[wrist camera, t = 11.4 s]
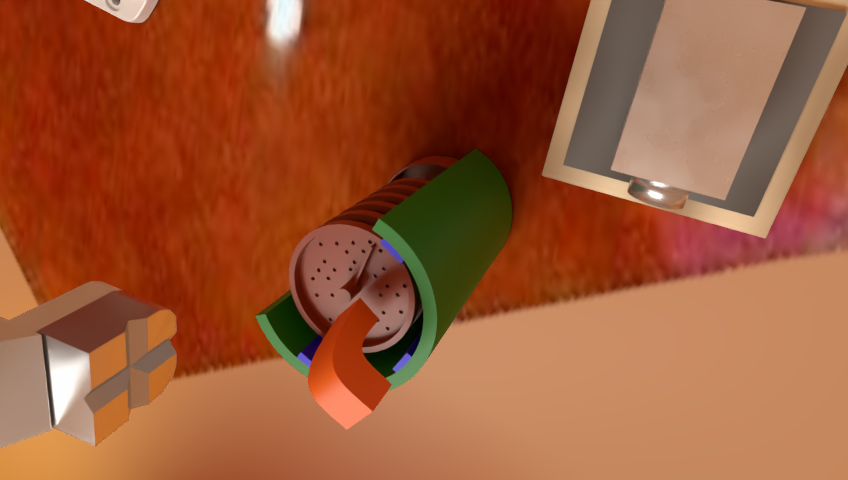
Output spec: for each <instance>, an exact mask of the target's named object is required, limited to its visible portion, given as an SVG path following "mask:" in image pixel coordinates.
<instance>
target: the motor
mask: <svg viewBox="0 0 848 480" xmlns="http://www.w3.org/2000/svg"><path fill="white" fill-rule="evenodd" d="M511 224H512V202H511V197H510V193H509V190H508V187H507V184H506V182H505V180H504V178H503V176H502V175H501V173H500V171H499V170H498V169H497V167H496V166H495V165H494V164H493V162H492V161H491V160H490V159H489V158H488V157H486V156H485V155H484V154H483V153H482V152H480V151H479V150H477V149H476V148H475V149H474V150H473V151H471V152H470V153H469V154H467V155H466V156H464V157H463V158H462V159H460V160H459V159H456V158H453V157H449V156H442V155H435V156H428V157H424V158H421V159H419V160H417V161H415V162H413V163H412V164H410V165H408V166H407V167H405V168H403V169H402V170H400V171H399V172H397V173H396V174H395V175H394V176H393V177H392V178H391V179H390V180H389V182H388V183H387V185H385V186H384V187H382V188H381V189H379V190H377V191H376V192H374V193H373V194H371V195H369V196H368V197H366V198H365V199H363V200H361V201H360V202H358V203H357V204H355V205H354V206H352V207H350V208H348V209H347V210H345V211H344V212H342V213H341V214H340V215H338V216H336V217H334V218H332V219H331V220H329V221H328V222H326V223H325V224H324V225H322V226H320V227H318V228H316V229H315V230H313V231H312V232H310V233H309V234H307V235H306V236H305V237H304V238H303V239H302V240H301V241H300V242H299V244H298V245H297V247H296V248H295V250H294V252H293V255H292V258H291V261H290V266H289V284H290V289H291V290H289V291H288V292H287V293H285V294H284V295H283V296H281V297H280V298H279V299H277V300H276V301H275V302H273V303H272V304H271V305H269V306H268V307H267V308H265V309H264V310H263V311H261V312H260V313H259V314H257V315H256V318H257V320H258V323H259V325H260V326H261V328H262V330H263V332H264V334H265V335H266V337H267V338H268V340H269V341H270V343H271V344H272V345H273V347H274V348H275V349H276V350H277V351H278V353H279V354H280V355H281V356H282V357H283V358H284V359H285V360H286V361H287V362H288V363H289V364H290V365H292V366H293V367H294V368H295V369H296V370H298V371H299V372H301V373H302V374H304V375H305V376H306V377H308V385H309V389H310V391H311V394H312V396H313V397H314V399H315V400H316V401H317V403H318V404H319V405H320V406H321V407H322V408H323V409H324V410H325V411H326V412H327V413H328V414H329V415H330V416H331V417H333V418H334V419H335V420H336V421H337V422H339V423H340V424H341V425H342V426H343V427H344V428H346V429H348V428H350V427H351V426H352V425H354V424H355V423H357V422H358V421H360V420H361V419H363V418H364V417H366V416H367V415H368V414H370V413H371V412H372V411H373V410H374V409H375V408H376V406H377V405H378V403H379V402H380V401H381V399H382V398H383V396H384V395H385V394H386V392H387V391H388V390H391V389H394V388H396V387H398V386H400V385H402V384H404V383H405V382H407V381H408V380H409V379H411V378H412V377H413V376H414V375H415V374H416V373H417V372H418V371H419V370H420V368H421V367H422V366H423V365H424V363H425V362H426V360H427V359H428V357H429V356H430V354H431V353H432V351H433V350H434V349H435V347H436V346H437V344H438V343H439V341H440V339H441V338H442V337H443V335H444V334H445V332H446V331H447V329H448V328H449V326H450V325H451V323H452V322H453V320H454V319H455V317H456V316H457V314H458V313H459V311H460V310H461V308H462V307H463V305H464V304H465V303H466V301H467V300H468V298H469V297H470V295H471V294H472V292H473V291H474V289H475V288H476V286H477V285H478V283H479V282H480V280H481V279H482V277H483V276H484V274H485V273H486V271H487V270H488V268H489V267H490V265H491V264H492V262H493V261H494V259H495V258H496V257H497V255H498V254H499V252H500V251H501V249H502V248H503V246H504V244H505V242H506V240H507V238H508V235H509V233H510V229H511Z"/></svg>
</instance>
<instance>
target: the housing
mask: <svg viewBox="0 0 848 480" xmlns="http://www.w3.org/2000/svg"><path fill="white" fill-rule="evenodd" d="M805 10H806V7H801V6H796V5H790V4H785V3H780V2H774V1H769V0H664V2H663V5H662V8H661V11H660V14H659V18H658V21H657V24H656V27H655V30H654V33H653V36H652V39H651V42H650V45H649V48H648V51H647V54H646V57H645V60H644V63H643V66H642V70H641V73H640V76H639V79H638V82H637V85H636V88H635V91H634V94H633V97H632V100H631V103H630V106H629V109H628V112H627V115H626V119H625V122H624V125H623V128H622V131H621V134H620V137H619V140H618V143H617V146H616V150H615V154H614V158H613V162H612V166H611V170H613V171H617V172H620V173H624V174H628V175H632V177H631V180H630V182H629V185H628V188H627V192H628V193H629V194H630V195H631V196H632V197H634V198H636V199H638V200H640V201H642V202H645V203H647V204H650V205H653V206H657V207H661V208H666V209H683V208H684V207H685V204H686V202H687V199H688V197H689V194H690V191H692V192H695V193H699V194H703V195H707V196H710V197H714V198H718V199H722V200H725V199H726V196H727V194H728V192H729V189H730V187H731V185H732V182H733V180H734V177H735V175H736V173H737V170H738V168H739V166H740V163H741V161H742V159H743V156H744V154H745V151H746V149H747V147H748V144H749V142H750V140H751V137H752V135H753V133H754V130H755V128H756V126H757V123H758V121H759V118H760V116H761V114H762V111H763V109H764V107H765V104H766V102H767V100H768V97H769V95H770V92H771V90H772V88H773V85H774V83H775V81H776V78H777V76H778V74H779V71H780V69H781V66H782V64H783V62H784V59H785V57H786V55H787V52H788V50H789V48H790V45H791V43H792V41H793V38H794V36H795V33H796V31H797V29H798V26H799V24H800V22H801V19H802V17H803V15H804V12H805Z"/></svg>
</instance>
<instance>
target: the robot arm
mask: <svg viewBox="0 0 848 480" xmlns="http://www.w3.org/2000/svg"><path fill="white" fill-rule="evenodd" d="M85 1H87V2H89V3H91V4H93V5H95V6H97V7H99V8H101V9H103V10H105V11H107V12H109V13H110V14H112V15H114V16H116V17H118V18H120V19H122V20H124V21H127V22H134V23H141V22H144V21H145V20H146V19H147V18H148V17H149V15H150V14H151V12H152V11H153V9H154V7H155V6H156V4H157V2H158V0H120V2H119V0H85ZM175 333H176V315H175V314H173V313H172V312H171V311H170V310H169V309H166V308H164V307H162V306H159V305H157V304H155V303H153V302H150V301H148V300H146V299H143V298H141V297H139V296H136V295H134V294H132V293H129V292H127V291H125V290H121V289H118V288H116V287H114V286H112V285H109V284H107V283H105V282H102V281H90V282H88V283H86V284H84V285H81V286H79V287H77V288H75V289H73V290H71V291H69V292H67V293H65V294H63V295H61V296H59V297H57V298H54V299H52V300H50V301H48V302H46V303H44V304H42V305H40V306H38V307H36V308H34V309H32V310H29V311H27V312H25V313H23V314H21V315H19V316H17V317H15V318H13V319H11V320H7V319H5V318H2V317H0V448H3V447H5V446H8V445H11V444H14V443H17V442H20V441H22V440H25V439H28V438H31V437H34V436H37V435H39V434H42V433H45V432H48V431H51V430H52V427H53V428H55V429H57V430H60V431H62V432H64V433H66V434H69V435H71V436H73V437H75V438H78V439H80V440H82V441H84V442H87V443H89V444H92V445H93V446H97V445H98V444H99V443H100V442H102V441H103V440H104V439H105V438H107V437H108V436H109V435H110V434H112V433H113V432H114V431H116V430H117V429H118V428H119V427H121V426H122V425H123V424H124V423H126V422H127V421H128V420H129V415H130V412H131V409H133V408H136V407H140V406H144V405H148V404H150V403H151V402H152V401H153V400H155V399H156V398H157V397H158V396H159V395H161V394H162V393H163V391H164V389H165V388H166V387H167V385H168V384H169V382H170V381H171V379H172V377H173V374H174V371H175V367H176V352H175V350H174V348H173V346H172V344H171V342H170V340H169V339H170V338H171V337H172V336H173V335H174V334H175Z"/></svg>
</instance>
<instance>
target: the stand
mask: <svg viewBox="0 0 848 480" xmlns="http://www.w3.org/2000/svg"><path fill="white" fill-rule="evenodd" d="M769 1H774V2H780V3H785V4H790V5H796V6H801V7H806V10H805V12H804V15H803V17H802V19H801V22H800V24H799V26H798V29H797V31H796V33H795V36H794V38H793V41H792V43H791V45H790V48H789V50H788V52H787V55H786V57H785V59H784V62H783V64H782V66H781V69H780V71H779V74H778V76H777V78H776V81H775V83H774V85H773V88H772V90H771V92H770V95H769V97H768V100H767V102H766V104H765V107H764V109H763V111H762V114H761V116H760V118H759V121H758V123H757V126H756V128H755V130H754V133H753V135H752V137H751V140H750V142H749V144H748V147H747V149H746V151H745V154H744V156H743V159H742V161H741V163H740V166H739V168H738V170H737V173H736V175H735V177H734V180H733V182H732V185H731V187H730V189H729V192H728V194H727V196H726V199H725V200H722V199H718V198H714V197H710V196H707V195H703V194H699V193H695V192H692V191H690V194H689V197H688V199H687V202H686V204H685V207H684V208H683V209H666V208H661V207H657V206H653V205H650V204H647V203H645V202H642V201H640V200H638V199H636V198H634V197H632V196H631V195H630V194H629V193H628V192H627V188H628V185H629V182H630V180H631V177H632V175H628V174H624V173H620V172H617V171H613V170H611V166H612V162H613V158H614V154H615V150H616V146H617V143H618V140H619V137H620V134H621V131H622V128H623V125H624V122H625V119H626V115H627V112H628V109H629V106H630V103H631V100H632V97H633V94H634V91H635V88H636V85H637V82H638V79H639V76H640V73H641V70H642V66H643V63H644V60H645V57H646V54H647V51H648V48H649V45H650V42H651V39H652V36H653V33H654V30H655V27H656V24H657V21H658V18H659V14H660V11H661V8H662V5H663V2H664V0H591V2H590V5H589V9H588V12H587V16H586V19H585V23H584V27H583V30H582V34H581V37H580V41H579V44H578V48H577V51H576V55H575V59H574V62H573V66H572V69H571V73H570V76H569V80H568V83H567V87H566V91H565V94H564V98H563V101H562V105H561V108H560V112H559V115H558V119H557V123H556V126H555V130H554V133H553V137H552V140H551V144H550V147H549V151H548V155H547V158H546V162H545V165H544V169H543V172H542V176H545V177H549V178H552V179H556V180H559V181H563V182H566V183H570V184H574V185H577V186H581V187H584V188H588V189H591V190H595V191H598V192H602V193H606V194H609V195H613V196H616V197H620V198H623V199H627V200H631V201H634V202H638V203H641V204H645V205H648V206H652V207H655V208H659V209H663V210H666V211H670V212H673V213H677V214H680V215H684V216H688V217H691V218H695V219H698V220H702V221H705V222H709V223H712V224H716V225H720V226H723V227H727V228H730V229H734V230H737V231H741V232H745V233H748V234H752V235H755V236H759V237H762V238H766V236H767V234H768V232H769V230H770V228H771V225H772V223H773V221H774V219H775V217H776V215H777V213H778V211H779V208H780V206H781V204H782V202H783V200H784V198H785V196H786V194H787V192H788V189H789V187H790V185H791V183H792V181H793V179H794V177H795V175H796V173H797V170H798V168H799V166H800V164H801V162H802V160H803V158H804V156H805V154H806V151H807V149H808V147H809V145H810V143H811V141H812V139H813V137H814V135H815V132H816V130H817V128H818V126H819V124H820V122H821V120H822V118H823V116H824V113H825V111H826V109H827V107H828V105H829V103H830V101H831V99H832V96H833V94H834V92H835V90H836V88H837V86H838V84H839V82H840V80H841V77H842V75H843V73H844V71H845V69H846V67H847V65H848V0H769Z"/></svg>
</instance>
